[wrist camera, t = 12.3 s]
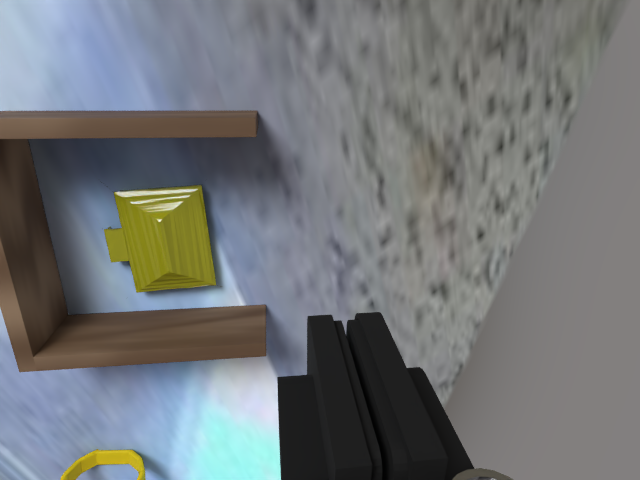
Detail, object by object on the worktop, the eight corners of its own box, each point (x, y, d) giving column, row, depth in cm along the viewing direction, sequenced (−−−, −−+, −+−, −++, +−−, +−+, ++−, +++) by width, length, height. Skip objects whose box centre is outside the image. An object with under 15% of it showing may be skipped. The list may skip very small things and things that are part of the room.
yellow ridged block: (240, 289, 32) (237, 309, 30) (115, 301, 32) (100, 322, 29) (223, 158, 29) (218, 166, 26) (80, 167, 28) (61, 177, 25)
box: (3, 110, 26) (-55, 118, 21) (257, 110, 27) (255, 117, 23) (56, 327, 31) (19, 372, 26) (266, 316, 33) (266, 355, 28)
